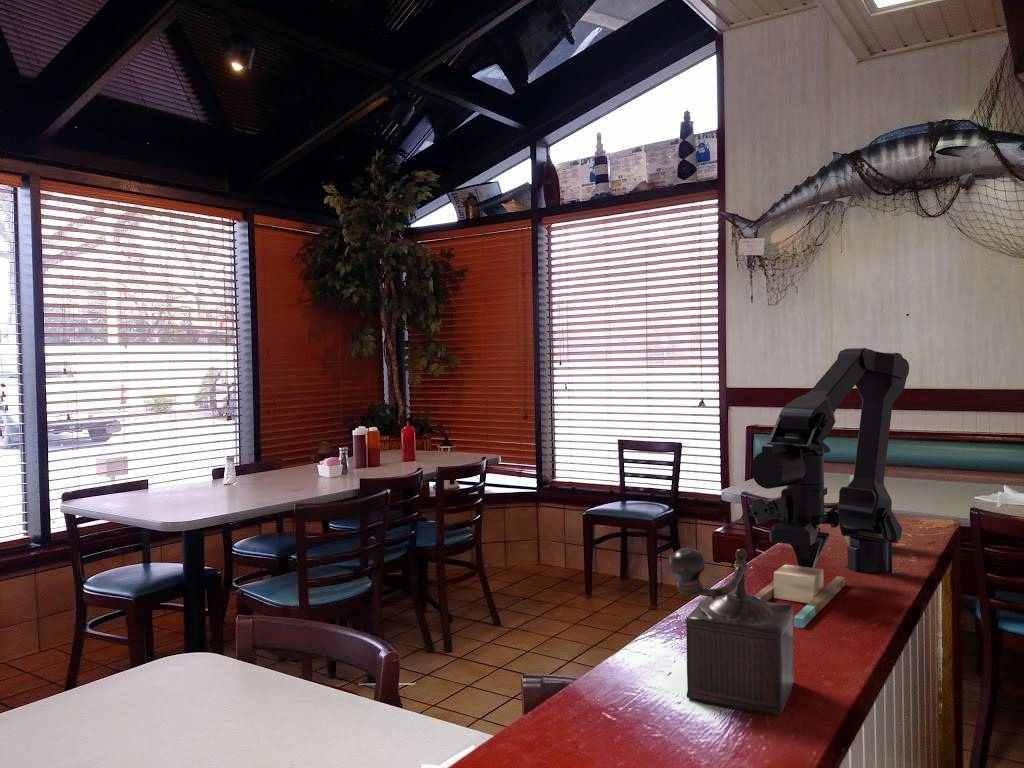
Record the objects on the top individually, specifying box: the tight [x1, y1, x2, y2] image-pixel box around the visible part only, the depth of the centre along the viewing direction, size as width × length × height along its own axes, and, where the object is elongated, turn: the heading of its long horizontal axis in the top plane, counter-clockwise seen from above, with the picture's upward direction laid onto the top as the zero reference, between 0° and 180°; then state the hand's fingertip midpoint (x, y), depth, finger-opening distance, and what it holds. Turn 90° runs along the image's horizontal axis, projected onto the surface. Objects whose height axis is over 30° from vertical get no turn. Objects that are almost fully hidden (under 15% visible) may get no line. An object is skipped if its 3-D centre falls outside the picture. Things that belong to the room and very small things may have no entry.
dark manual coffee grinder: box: [668, 547, 795, 717], centre depth 87 cm, size 16×11×18 cm
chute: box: [753, 575, 846, 629], centre depth 121 cm, size 25×10×2 cm, turn 144°
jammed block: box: [773, 564, 825, 604], centre depth 122 cm, size 6×6×4 cm
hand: (805, 577), depth 126 cm, fingers closed
